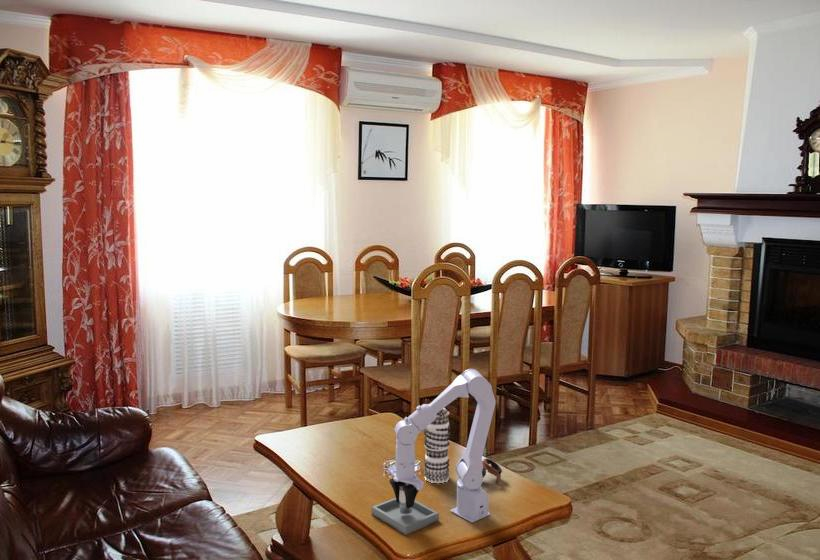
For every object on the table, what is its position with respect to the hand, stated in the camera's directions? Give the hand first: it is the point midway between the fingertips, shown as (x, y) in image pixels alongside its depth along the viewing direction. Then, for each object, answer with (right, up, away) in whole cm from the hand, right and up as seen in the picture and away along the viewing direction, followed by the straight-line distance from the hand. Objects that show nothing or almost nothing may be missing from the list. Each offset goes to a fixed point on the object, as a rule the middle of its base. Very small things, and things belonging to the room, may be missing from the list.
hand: (404, 504), depth 203 cm
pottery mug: (+27, -1, +26) cm, 38 cm away
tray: (0, -4, +1) cm, 4 cm away
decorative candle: (+11, -1, +28) cm, 30 cm away
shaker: (0, -2, 0) cm, 2 cm away
